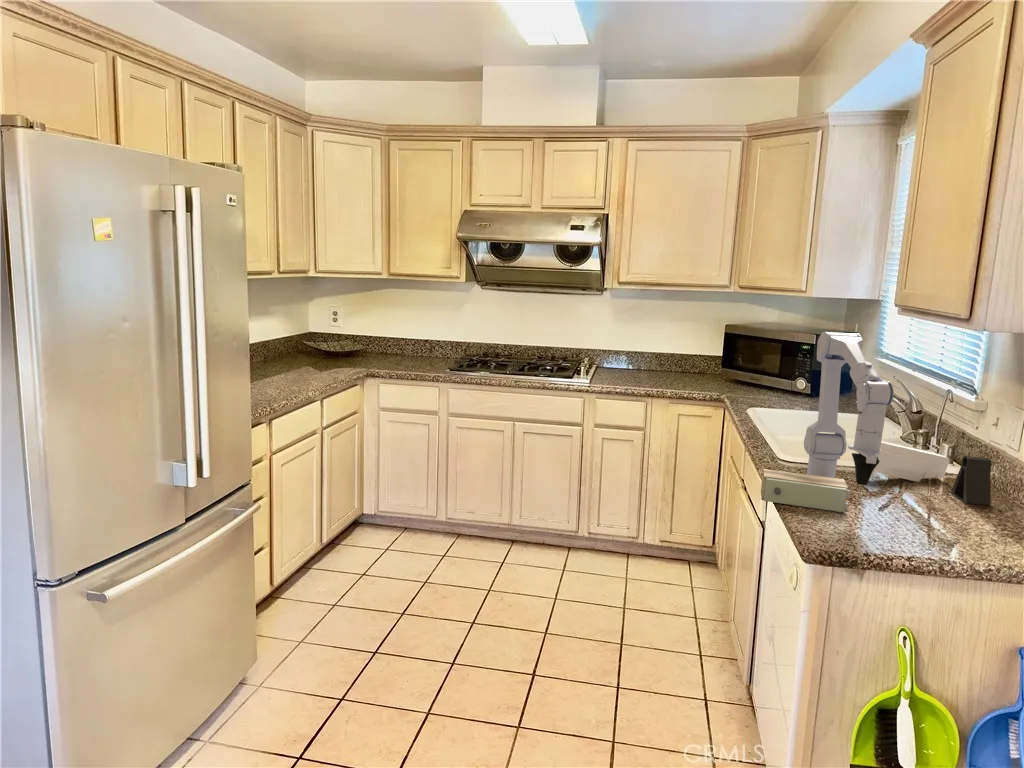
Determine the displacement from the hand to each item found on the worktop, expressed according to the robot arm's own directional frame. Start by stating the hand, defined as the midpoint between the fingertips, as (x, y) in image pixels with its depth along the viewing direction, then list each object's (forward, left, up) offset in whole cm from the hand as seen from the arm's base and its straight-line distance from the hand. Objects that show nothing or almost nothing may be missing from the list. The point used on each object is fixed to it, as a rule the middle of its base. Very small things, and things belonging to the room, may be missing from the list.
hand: (861, 483), depth 163 cm
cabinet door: (-4, -11, -9) cm, 15 cm away
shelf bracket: (-42, +18, -10) cm, 47 cm away
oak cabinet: (-9, -12, -9) cm, 17 cm away
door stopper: (-31, +33, -10) cm, 46 cm away
